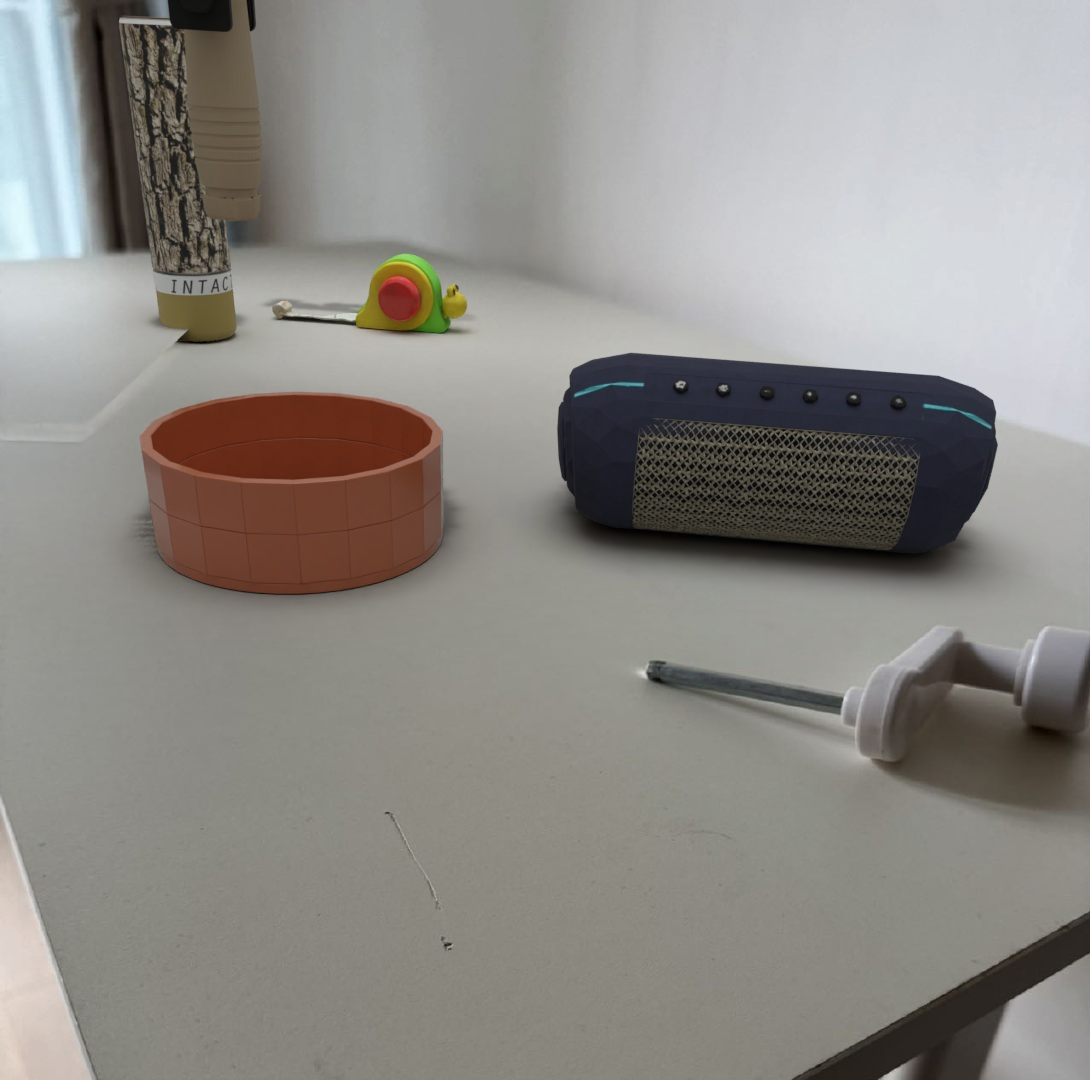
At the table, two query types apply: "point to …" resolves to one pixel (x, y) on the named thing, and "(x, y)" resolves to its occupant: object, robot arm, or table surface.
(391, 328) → the toy measuring tape
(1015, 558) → the table surface
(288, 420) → the bowl
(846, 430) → the portable speaker
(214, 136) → the handle
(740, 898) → the table surface
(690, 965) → the table surface
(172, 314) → the paper tube
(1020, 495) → the table surface
